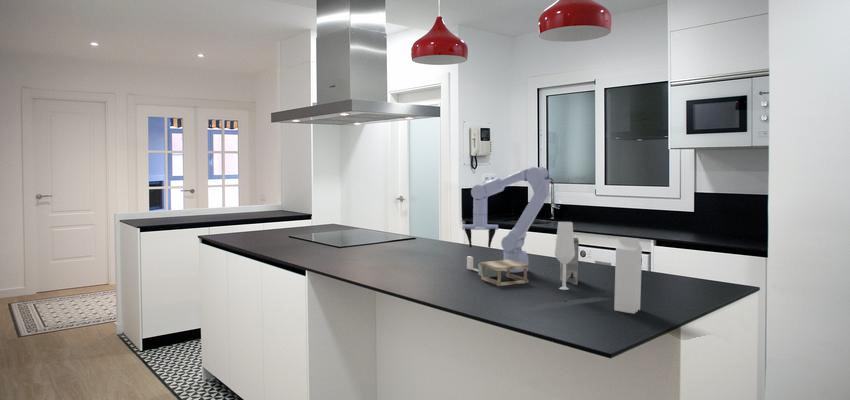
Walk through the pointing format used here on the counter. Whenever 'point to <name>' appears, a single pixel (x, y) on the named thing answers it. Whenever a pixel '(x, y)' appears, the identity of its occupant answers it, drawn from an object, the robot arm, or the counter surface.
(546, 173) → the robot arm
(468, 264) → the block
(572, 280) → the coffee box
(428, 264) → the counter surface
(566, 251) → the champagne flute
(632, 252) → the milk
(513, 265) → the shelf
